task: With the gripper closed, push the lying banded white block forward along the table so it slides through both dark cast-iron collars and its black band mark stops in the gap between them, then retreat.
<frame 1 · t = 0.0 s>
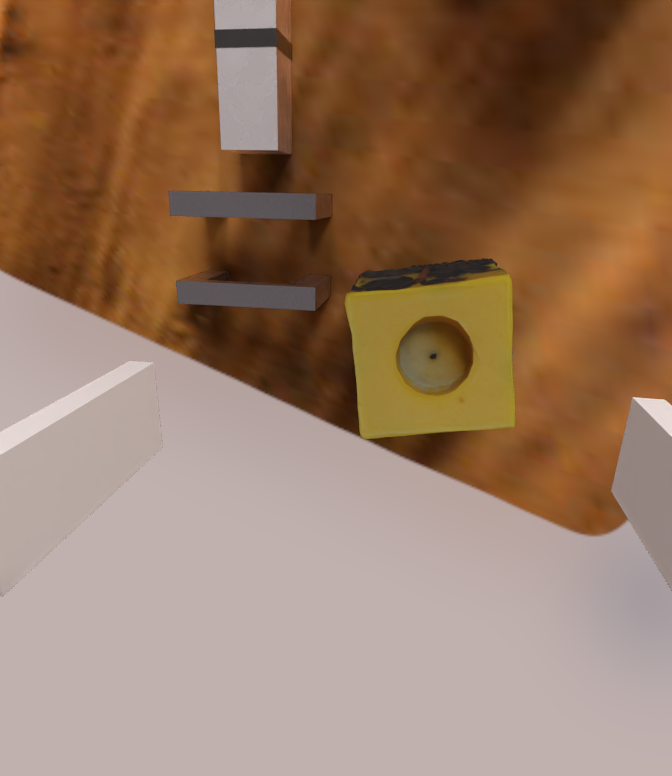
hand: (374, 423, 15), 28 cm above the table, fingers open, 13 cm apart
collar b: (269, 282, 43), on the table
candle: (429, 327, 42), on the table
banded white block: (263, 28, 37), on the table
collar a: (267, 203, 41), on the table
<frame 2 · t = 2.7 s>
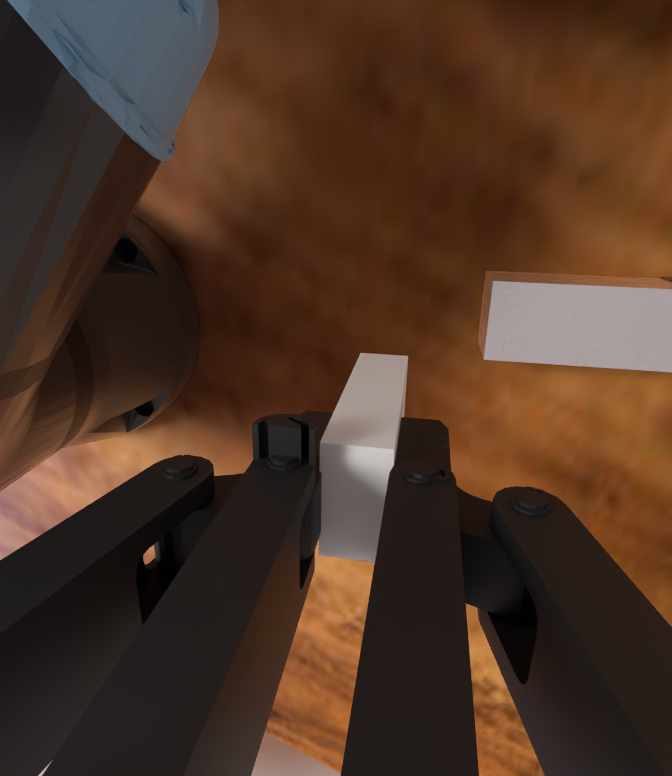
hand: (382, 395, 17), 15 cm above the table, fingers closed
banded white block: (631, 313, 29), on the table
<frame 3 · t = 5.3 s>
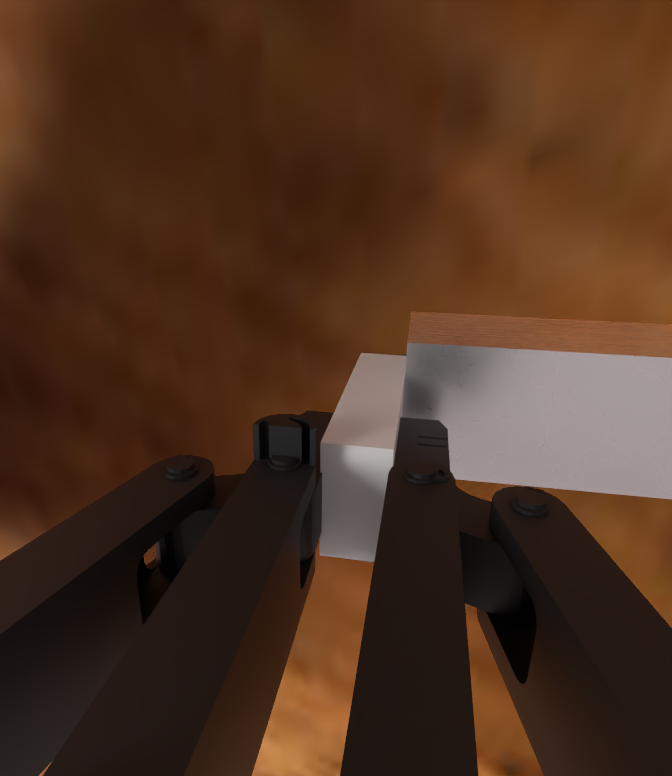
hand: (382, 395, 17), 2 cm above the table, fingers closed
banded white block: (651, 383, 17), on the table, touching gripper
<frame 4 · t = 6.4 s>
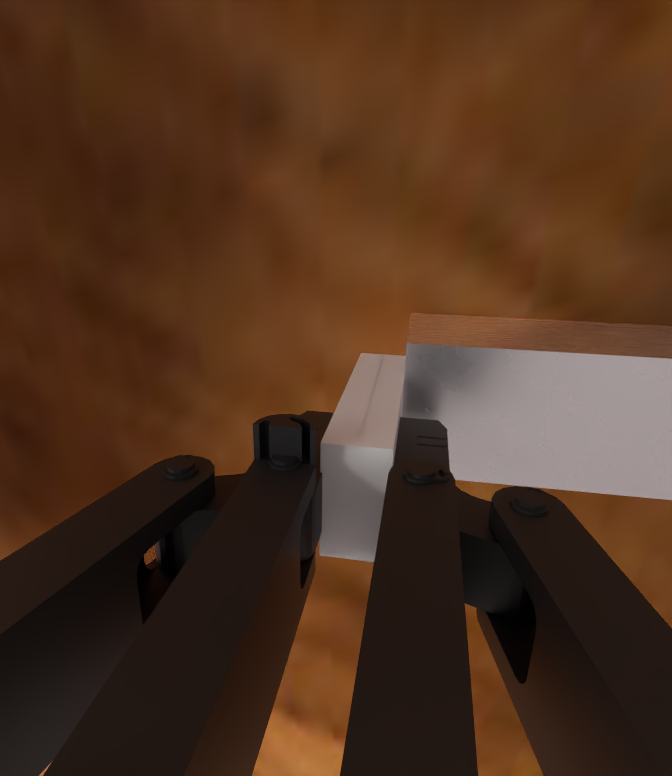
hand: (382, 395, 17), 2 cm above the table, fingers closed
banded white block: (651, 384, 17), on the table, touching gripper
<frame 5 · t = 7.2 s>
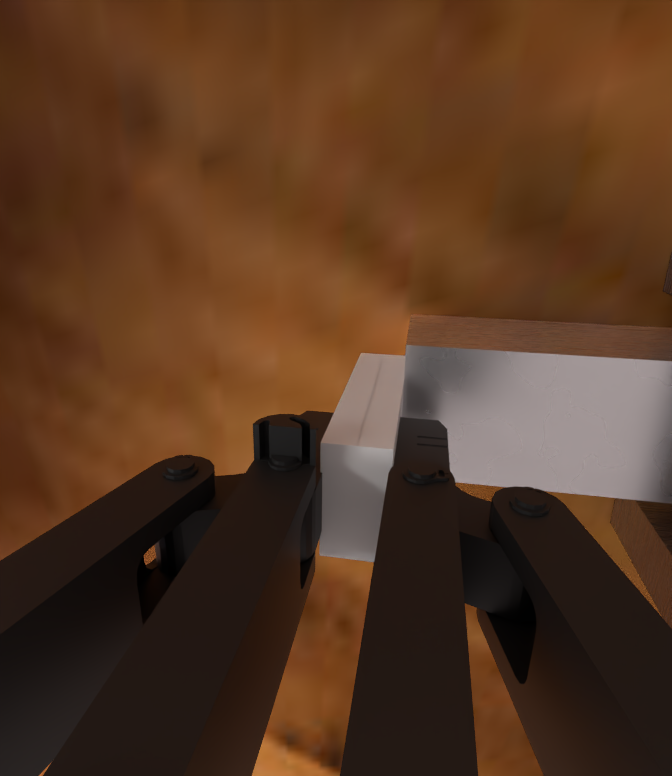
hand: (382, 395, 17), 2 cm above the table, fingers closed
banded white block: (652, 386, 17), on the table, touching gripper
collar a: (666, 392, 17), on the table
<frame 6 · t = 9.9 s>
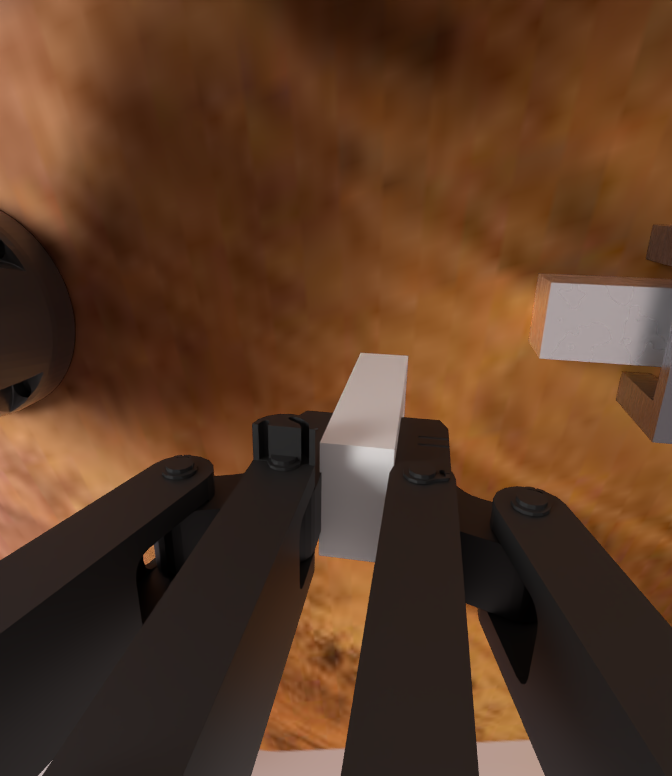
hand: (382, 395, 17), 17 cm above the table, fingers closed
collar a: (648, 318, 30), on the table
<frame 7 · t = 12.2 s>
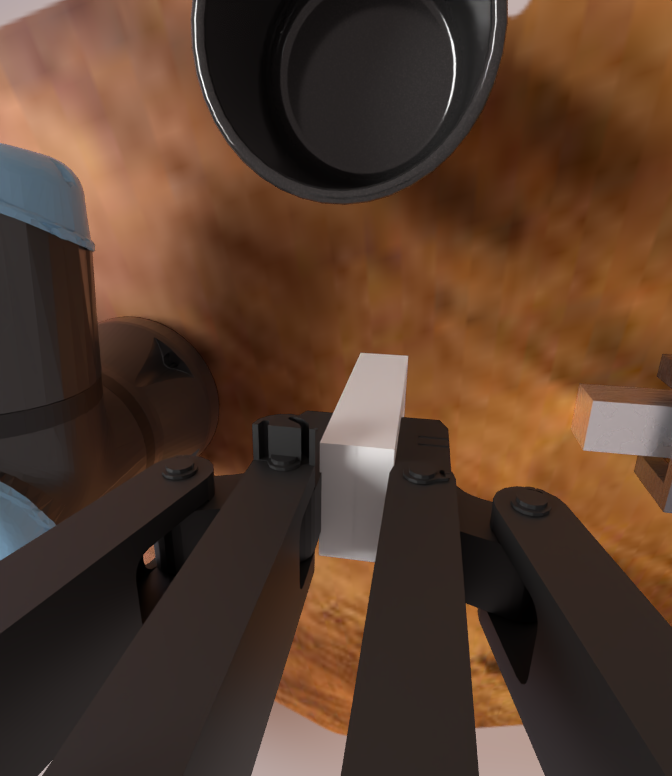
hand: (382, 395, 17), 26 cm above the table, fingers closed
planter: (380, 105, 38), on the table
collar a: (658, 416, 42), on the table
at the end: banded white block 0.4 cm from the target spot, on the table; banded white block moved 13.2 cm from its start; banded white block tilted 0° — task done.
